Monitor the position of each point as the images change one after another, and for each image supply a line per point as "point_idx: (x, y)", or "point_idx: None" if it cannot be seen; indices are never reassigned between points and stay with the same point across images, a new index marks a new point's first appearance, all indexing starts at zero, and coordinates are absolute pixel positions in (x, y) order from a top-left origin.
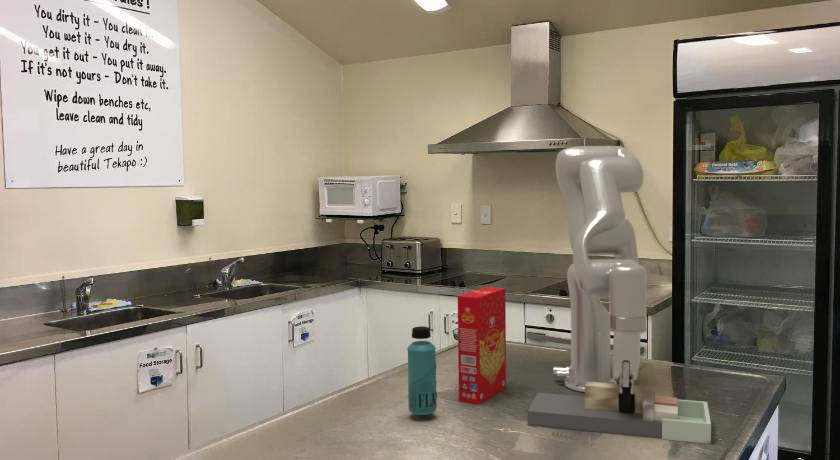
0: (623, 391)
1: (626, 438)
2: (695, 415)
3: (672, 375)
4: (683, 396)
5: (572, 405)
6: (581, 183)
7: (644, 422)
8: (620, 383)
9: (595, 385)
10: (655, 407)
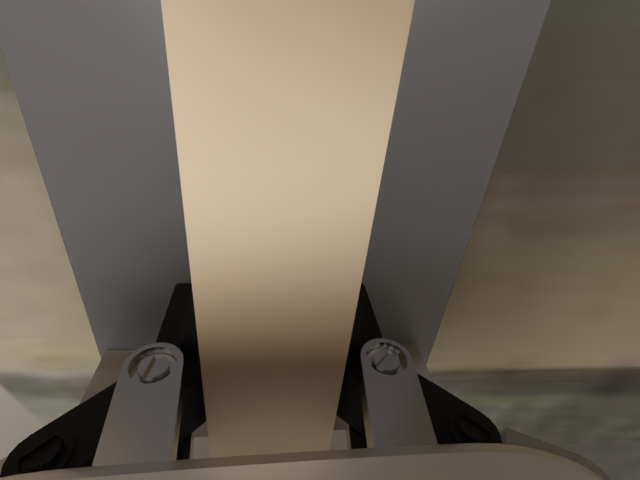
0: (95, 404)
1: (57, 234)
2: None
3: None
4: (617, 391)
5: None
6: None
7: (100, 353)
8: (99, 453)
9: (222, 121)
10: None
